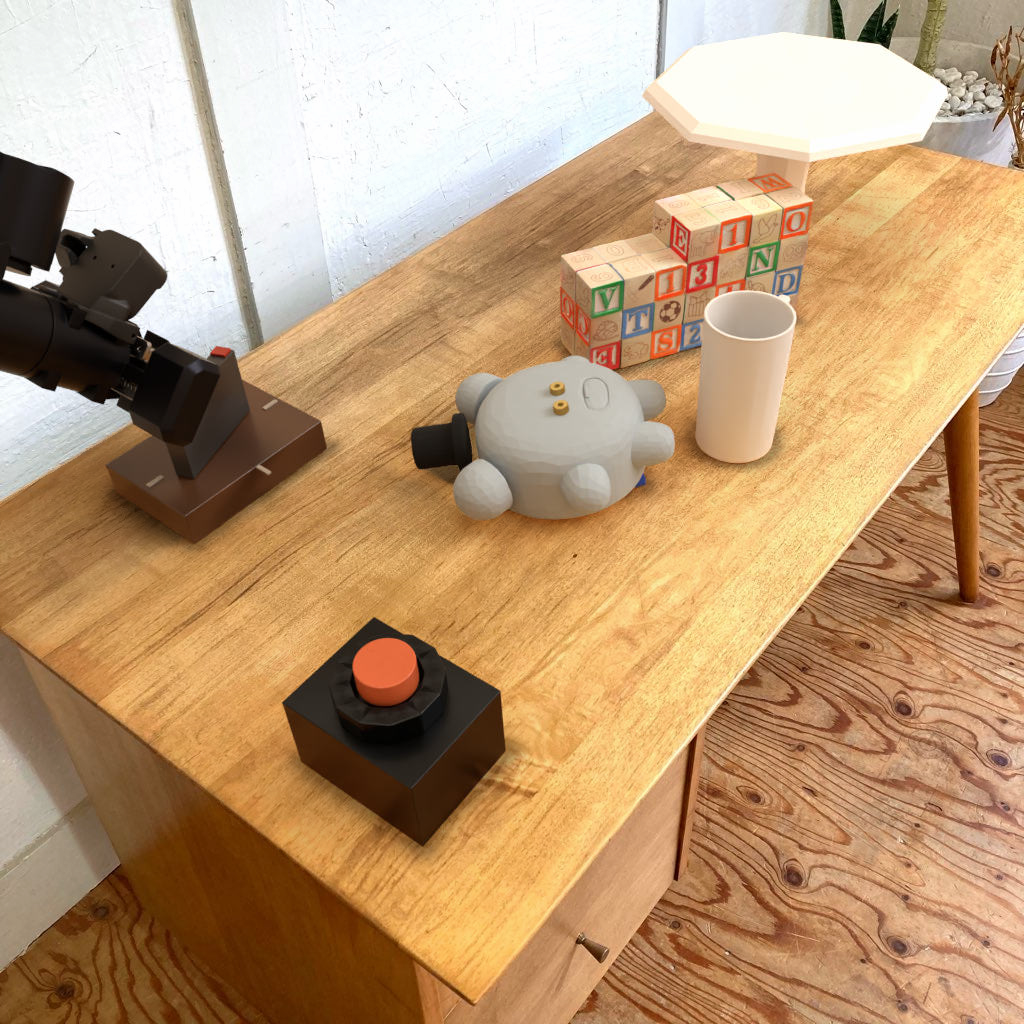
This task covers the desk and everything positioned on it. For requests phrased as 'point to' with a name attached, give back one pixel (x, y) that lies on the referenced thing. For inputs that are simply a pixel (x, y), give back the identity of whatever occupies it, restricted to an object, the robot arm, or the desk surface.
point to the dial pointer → (214, 417)
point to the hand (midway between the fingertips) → (194, 386)
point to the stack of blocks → (683, 269)
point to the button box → (399, 735)
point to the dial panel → (220, 468)
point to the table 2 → (796, 99)
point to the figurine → (548, 440)
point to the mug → (742, 373)
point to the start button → (386, 672)
